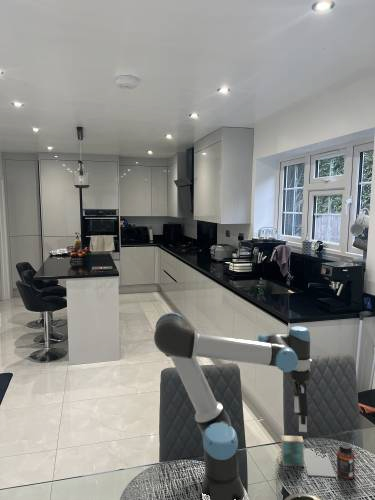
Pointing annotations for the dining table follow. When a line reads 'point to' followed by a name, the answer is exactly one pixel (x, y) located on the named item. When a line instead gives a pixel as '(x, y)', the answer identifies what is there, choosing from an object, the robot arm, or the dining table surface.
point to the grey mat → (317, 464)
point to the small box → (292, 450)
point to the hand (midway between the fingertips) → (300, 421)
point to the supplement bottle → (345, 461)
